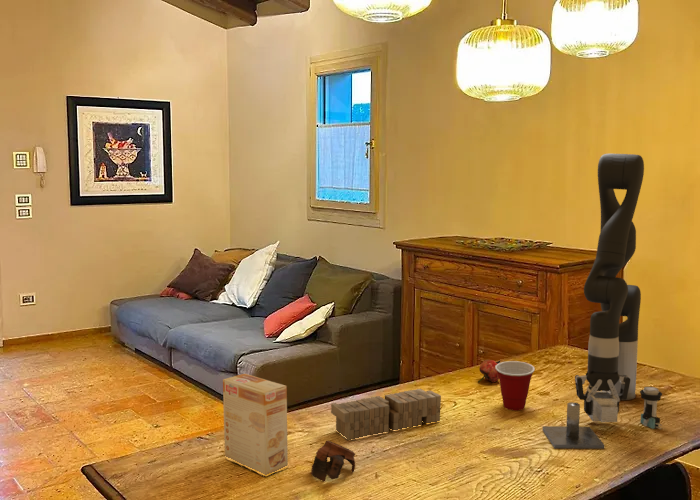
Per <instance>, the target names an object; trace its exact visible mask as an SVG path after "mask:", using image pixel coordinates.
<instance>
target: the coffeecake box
mask: <svg viewBox="0 0 700 500" xmlns="http://www.w3.org/2000/svg"><path fill="white" fill-rule="evenodd" d="M287 387H288V385H284V384H282V383H278V382H275V381H271V380H268V379H265V378H261V377H257V376H254V375H251V374H248V373H242V374H241V373H240V374H238V375H234V376H230V377H227V378H222V394H223V395H222V397H223V403H222V404H223V429H224V430H223V432H224V433H223V434H224V436H223V437H224V439H223V440H224V457H225V456H226V457H228V458H231V459H233V460H235V461H237V462H239V463H241V464H243V465H246V466H248V467H250V468H252V469H255V470H257V471H259V472H261V473H263V474H265V475H267V474H269V473H272V472H275V471H277V470H279V469H281V468H283V467H285V466H287V465H288V464H289V458H288V457H289V456H288V454H289V453H288V397H287V396H288V395H287V391H288V390H287ZM288 466H289V465H288Z"/></svg>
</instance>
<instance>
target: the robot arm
mask: <svg viewBox="0 0 700 500" xmlns="http://www.w3.org/2000/svg"><path fill="white" fill-rule="evenodd" d="M644 172H645V163H644V158H643V157H642V155H640V154H635V153H634V154H631V153H629V154H628V153H604V154H602V155H601V156H600V157H599V160H598V163H597V183H598V184H597V185H598V195H599V203H600V204H599V205H600V231H599V232H600V233H599V234H598V235H599V237H598V239H597V240H598V242H597V248H596V249H597V250H596V253H595V259H594V261H593V265H592V268H591V269H590V272H589V274H588V276H587V278H586V280H585V283H584V287H583V294H584V298H585V299H586V300H587V301H588V302H590V303H597V304H600V308H601V310H600V311H595V312H593V313H592V314H591V315H590V320H589V325H590V326H589V338H588V343H587V344H588V347H587V348H588V349H587V371H586V373H585V375H579V374H576V375H575V376H574V381H575V391H576V396H577V397H578V398H579V400H581V401H583V411H584V413H585V414H586V415H587V416H588V415H591V399H592V397H593V395H595V393H596V392H597V391H609V392H610V393H611V394H612V395H613V397H616V398H617V407H618V413H620V402H621V401H628V400H629V401H630V400H633V399H635V398H636V391H637V390H636V388H637V387H636V385H637V366H638V347H639V346H638V343H639V321H640V311H641V300H642V299H641V298H642V297H641V296H642V292H641V289H640V287H639V286H638V285H636V284H635V285H633V284H628V283H627V282H626V280H625V279H624V278H622V277H619V276H618V277H617V275H618V274H619V272H621V270H622V269H623V268H624V266H626V264H627V263H629V261H630V260H631V259H632V257H633V256H634V254H635V252H636V249H637V248H636V247H637V229H636V226H635V223H634V222H633V218H634V215H635V211H636V208H637V205H638V201H639V200H638V199H639V196H640V193H641V187H642V185H643V182H644V181H643V180H644V174H645V173H644ZM615 190H623V191H624V190H626V191H625V196H624V198H623V200H622V202H621V204H620V202H619V201H618V199H617V196H616V193H615ZM621 317H626V318H627V319H626V320H624V321H622V322H620V320H621ZM586 381H587V382H588V386H587V387H586V391H585V393H584V386H583V385H584V384H585V383H586Z"/></svg>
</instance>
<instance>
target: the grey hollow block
mask: <svg viewBox="0 0 700 500" xmlns="http://www.w3.org/2000/svg"><path fill="white" fill-rule="evenodd" d="M618 413H619V412H618V407H617V398H616V397H613V395H612V394H611V393H610V392H609V391H597V392H596V393H595V395H593V397H592V399H591V415H587V416H588V418H590V420H591V421H592V422H600V423H618Z"/></svg>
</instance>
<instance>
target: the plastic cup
mask: <svg viewBox="0 0 700 500" xmlns="http://www.w3.org/2000/svg"><path fill="white" fill-rule="evenodd" d="M495 367H496V370H497V372H498V376H499V380H498V381H499V387H500V392H501V393H500V395H501V398H502V405H503V408H504V409H506V410H508V411H515V412H516V411H517V412H518V411H523V410H524V409H525V407H526V405H527V404H526V402H527V398H528V395H529V390H530V385H531V380H532V377H533V373H534V372H535V370H536V369H535V366H534V365H532V364H530V363H528V362H524V361H517V360H509V361H502V362H501V361H500V363H498V364H497V365H496V366H495Z"/></svg>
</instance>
